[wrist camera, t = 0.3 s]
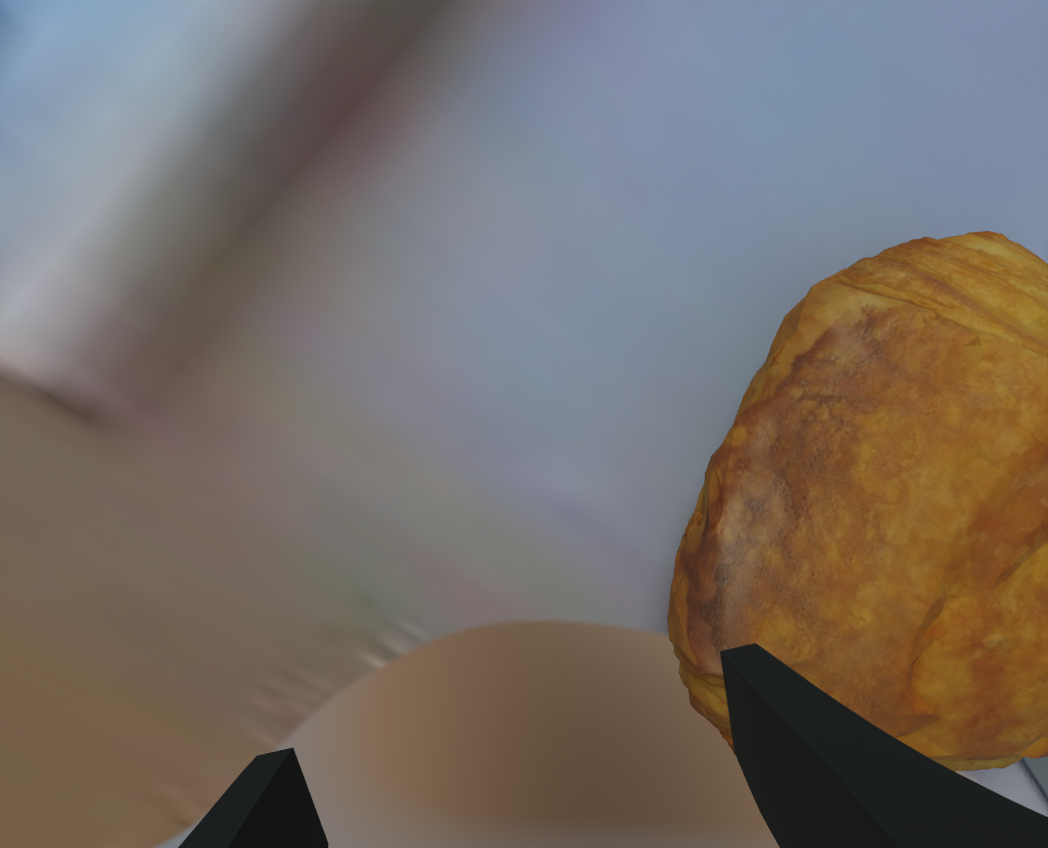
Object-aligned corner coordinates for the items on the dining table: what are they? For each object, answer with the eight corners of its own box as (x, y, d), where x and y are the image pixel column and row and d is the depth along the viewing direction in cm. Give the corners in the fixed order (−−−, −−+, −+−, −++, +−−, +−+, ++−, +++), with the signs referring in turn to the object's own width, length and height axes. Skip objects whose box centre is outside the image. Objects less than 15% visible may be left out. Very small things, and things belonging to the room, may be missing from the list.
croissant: (555, 611, 22) (601, 816, 14) (814, 161, 18) (1057, 110, 11) (898, 753, 25) (1092, 990, 17) (1176, 384, 21) (1574, 468, 14)
